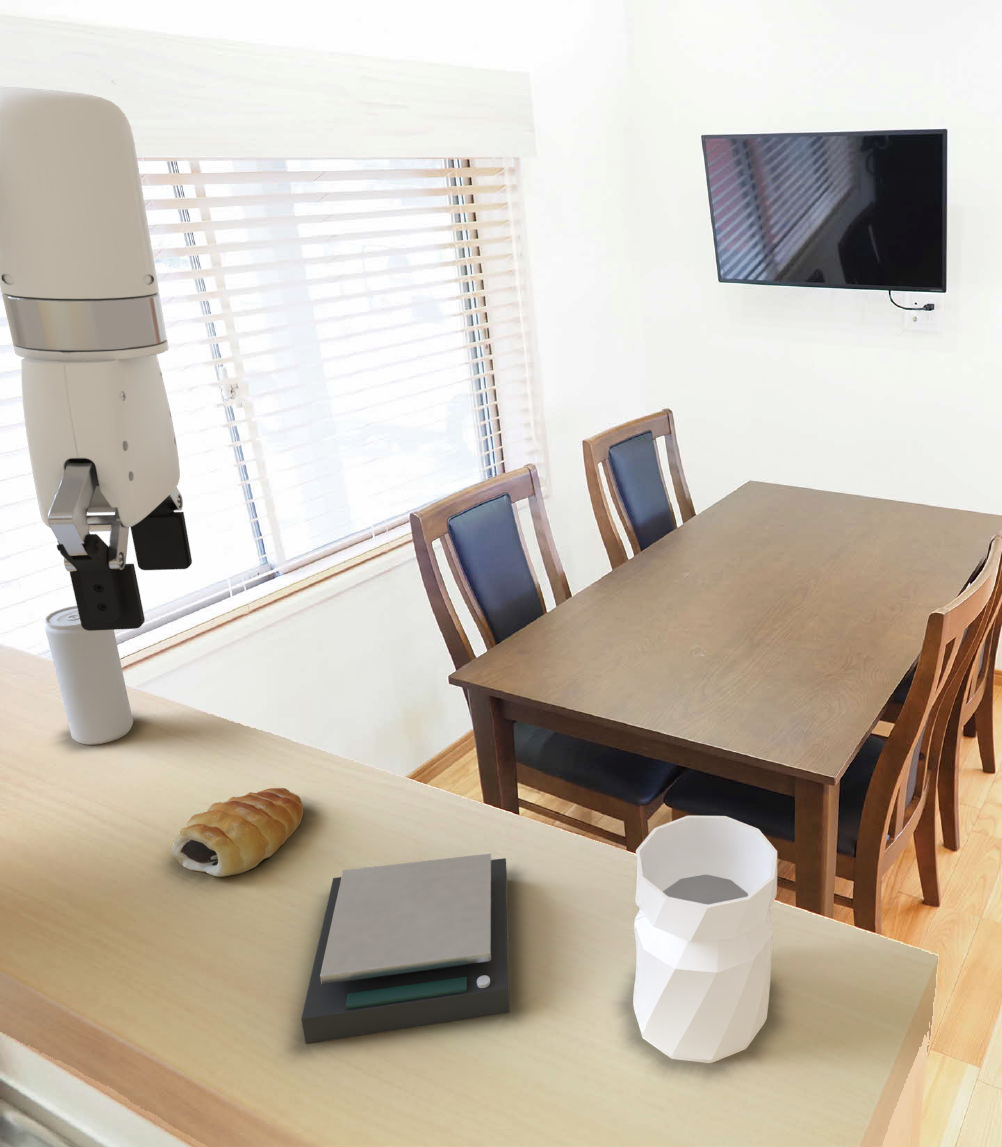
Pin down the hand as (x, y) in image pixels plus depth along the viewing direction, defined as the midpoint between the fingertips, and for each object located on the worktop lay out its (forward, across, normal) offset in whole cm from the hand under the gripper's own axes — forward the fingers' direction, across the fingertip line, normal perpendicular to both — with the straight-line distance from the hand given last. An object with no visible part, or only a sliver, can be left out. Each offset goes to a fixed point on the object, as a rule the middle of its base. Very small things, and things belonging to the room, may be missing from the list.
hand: (142, 595), depth 63 cm
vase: (+23, +18, +34) cm, 45 cm away
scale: (+23, +10, +16) cm, 30 cm away
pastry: (+23, -4, +2) cm, 24 cm away
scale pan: (+20, +10, +16) cm, 27 cm away
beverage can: (+23, -24, -14) cm, 36 cm away
